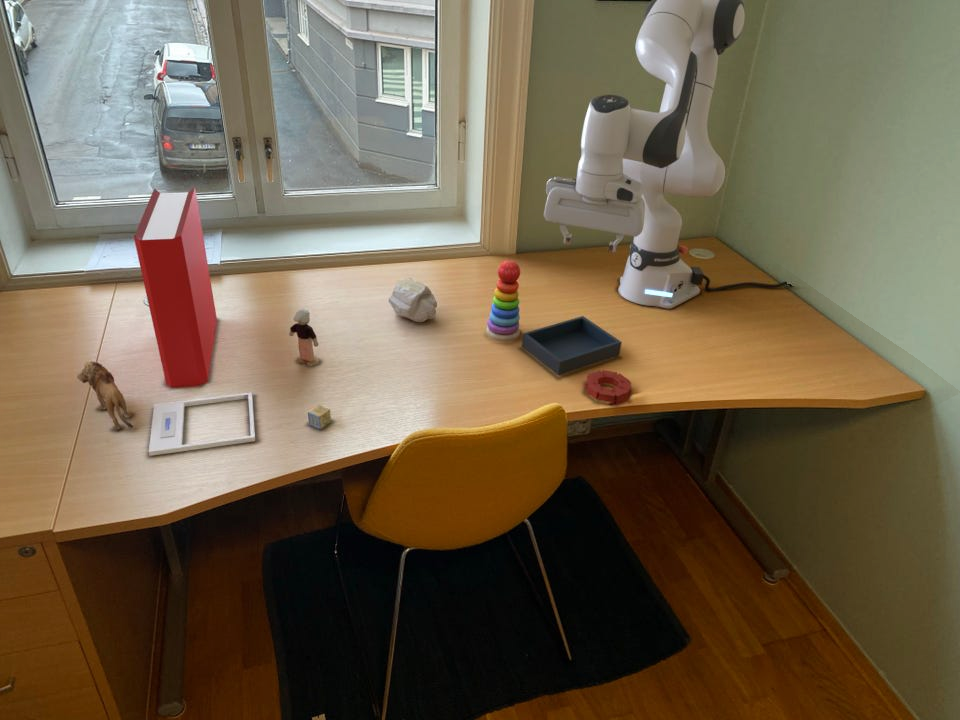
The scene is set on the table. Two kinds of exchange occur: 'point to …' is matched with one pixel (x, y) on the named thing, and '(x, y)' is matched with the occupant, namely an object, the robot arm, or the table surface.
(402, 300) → the white rock
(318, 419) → the alphabet block
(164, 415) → the photo frame
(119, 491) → the table surface
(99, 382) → the lion figurine
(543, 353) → the tray
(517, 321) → the stacking toy
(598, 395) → the ring
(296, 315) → the grandmother figurine
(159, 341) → the book
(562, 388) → the table surface
